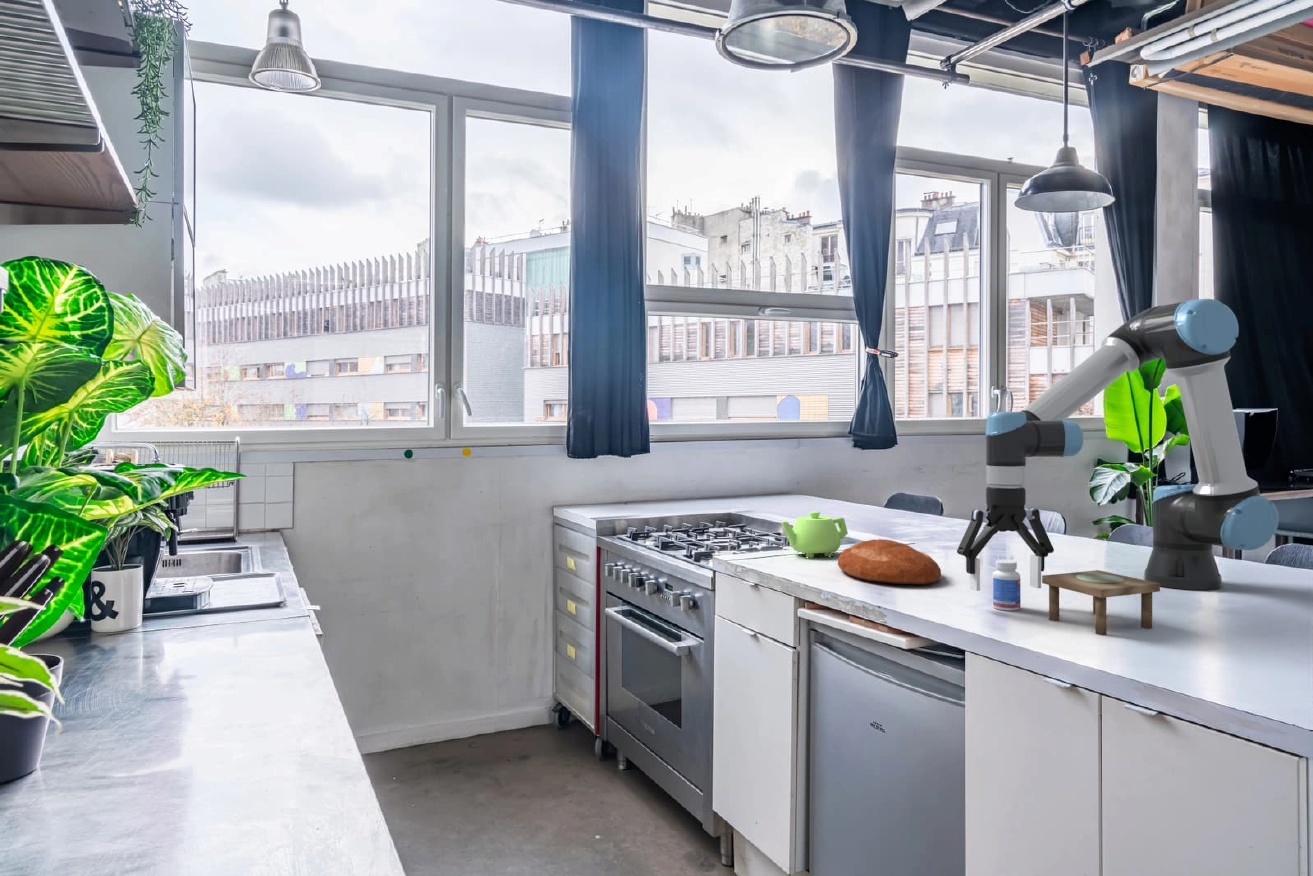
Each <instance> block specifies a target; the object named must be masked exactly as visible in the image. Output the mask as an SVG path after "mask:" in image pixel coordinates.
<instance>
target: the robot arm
mask: <svg viewBox="0 0 1313 876" xmlns="http://www.w3.org/2000/svg"><path fill="white" fill-rule="evenodd" d="M1239 330H1240V329H1239V323H1238V319H1237V316H1236V314H1235V313H1234V312H1233V310H1232V309H1231V308H1230V307H1229V306H1228V305H1226V304H1224V303H1222V302H1221V301H1219V300H1217V299H1211V298H1198V299H1197V298H1194V299H1188V300H1185V301H1179V302H1175V303H1171V304H1165V305H1157V306H1153V307H1149V308H1148V309H1145V310H1143V311H1141V312H1139V313H1138V314H1136V315H1135V316H1133V317H1132V318H1130V319H1129V320H1127V321H1126V322H1124V323H1123V324H1122V325H1120V326H1119V327H1118V328H1117V329H1115V330H1114V331H1113V332H1111V333H1109V335H1108V336H1106V337H1105V338H1104V339H1103V340H1101V344H1100V345H1101V347H1100V348H1099V349H1097V350H1096V351H1095V352H1094V353H1092V354H1091V355H1090V356H1089V357H1087V358H1086V359H1085V360H1083V361H1082V362H1081V363H1079V365H1077V366H1076V367H1075V368H1074V369H1072V370H1071V371H1070V372H1069V373H1067V374H1066V375H1065V376H1064V377H1062V378H1061V379H1059V381H1057V382H1056V383H1055V384H1053V385H1052V386H1051V387H1049V389H1047V390H1046V391H1045V392H1043V393H1042V394H1041V395H1040V396H1038V397H1037V398H1036V399H1035V400H1033V401H1032V402H1031V403H1029V404H1028V405H1027V406H1026V407H1025V408H1024V409H1022V410H1021V411H992V412H990V413H989V414H988V415H987V419H986V429H985V436H986V437H985V438H986V442H985V444H986V447H985V449H986V469H985V470H986V471H985V472H986V473H985V475H986V477H985V478H986V482H985V483H986V484H987V485H989V486H987V487H986V488H985V493H986V494H985V503H986V510H985V511H984V510H980V509H979V510H978V509H972V511H971V517H970V521H969V524H968V526H967V528H966V529H965V530H966V531H965V532H964V535H963V536H962V538H961V541H960V543H959V545H958V547H957V549H956V553H957V554H958V555H960V556H963V557H965V560H966V561H965V570H966V573H967V574H969V589H970V590H973V591H975V592H980V591H981V559H980V558H977V557H978V556H979V554H981V552H982V551H983V549H984V548H985V547H986V546H987V544H988V543H989V541H990V540H991V538H993V536H994V535H996V534H997V533H998V532H1001V533H1005V532H1008V531H1009V532H1016V533H1017V534H1018V535H1019V536H1020V538H1021V539H1022V540H1023V542H1025V544H1026V545H1027V546H1028V548H1029V549H1030V550H1031V551H1032V552H1033V554H1029V555H1030V557H1029V562H1030V563H1029V564H1030V565H1029V567H1030V568H1029V569H1030V570H1029V586H1030V587H1033V588H1036V589H1042V572H1045V558H1046V557H1048V556H1049V554H1052V553H1054V551H1055V548H1054V547H1053V544H1052V542H1051V540H1050V538H1049V536H1048V533H1047V532H1046V529H1045V527H1044V525H1043V523H1042V521H1041V515H1040V513H1041V512H1040V510H1039V509H1038V508H1032V507H1028V508H1027V509H1026V508H1025V505H1026V501H1027V498H1026V494H1027V493H1026V488H1025V487H1023V486H1025V485H1026V484H1027V481H1026V480H1027V477H1026V475H1027V474H1026V473H1027V470H1026V469H1027V468H1026V467H1027V462H1026V461H1027V458H1032V457H1033V458H1037V457H1038V458H1041V457H1042V458H1051V457H1052V458H1055V457H1058V458H1064V457H1073V456H1075V455H1078V454H1079V453H1080V451H1081V450H1082V448H1083V445H1084V432H1083V429H1082V428H1081V426H1080V425H1079V423H1077V422H1076V421H1074V420H1073V421H1072V420H1066V419H1069V417H1071V416H1073V414H1075V413H1076V412H1077V411H1078V410H1080V409H1081V408H1083V406H1086V405H1085V404H1087V403H1089V402H1090V401H1091V400H1092V399H1093V398H1095V397H1096V396H1098V394H1100V393H1101V392H1102V391H1104V390H1105V389H1106V388H1107V387H1109V386H1110V385H1111V384H1113V382H1115V381H1116V380H1118V379H1119V378H1120V377H1122V375H1124V374H1125V373H1126V372H1127V373H1132V372H1134V371H1137V370H1138V369H1139V368H1140V367H1141V366H1143V365H1145V364H1147V363H1149V362H1152V361H1155V360H1161V359H1163V360H1164V365H1165V369H1166V370H1167V371H1168V372H1170V373H1171V374H1173V375H1175V377H1176V381H1177V385H1178V390H1179V394H1180V399H1181V403H1182V408H1183V409H1182V410H1183V413H1184V417H1185V423H1186V425H1187V426H1186V427H1187V431H1188V436H1189V440H1190V444H1191V445H1190V446H1191V449H1192V453H1193V458H1194V463H1195V468H1196V472H1197V478H1198V483H1196V484H1194V483H1193V484H1192V483H1191V484H1175V485H1161V486H1158V487H1156V488H1155V489H1154V491H1153V495H1152V501H1151V505H1152V507H1151V509H1152V550H1151V554H1150V556H1149V559H1148V562H1147V565H1146V568H1145V569H1144V573H1143V574H1144V576H1143V577H1144V578H1143V580H1146V581H1151V582H1156V583H1160V587H1164V588H1169V589H1170V588H1171V589H1179V590H1180V589H1181V590H1199V591H1200V590H1201V591H1203V590H1205V591H1206V590H1207V591H1209V590H1217V589H1221V588H1222V587H1223V586H1222V583H1223V582H1222V579H1223V578H1222V575H1221V573H1220V571H1219V568H1218V564H1217V562H1216V561H1217V560H1216V559H1215V557H1214V554H1213V545H1214V546H1216V547H1217V546H1218V547H1223V548H1228V549H1229V550H1233V551H1234V550H1236V551H1237V550H1242V551H1254V550H1258V549H1261V548H1262V547H1263V546H1265V545H1266V544H1268V543H1269V542H1270V541H1271V540H1272V538H1273V535H1275V534H1276V532H1277V530H1278V528H1279V527H1278V526H1279V518H1280V517H1279V511H1278V508H1277V506H1276V505H1275V503H1274V502H1273V501H1270V499H1268V498H1266V497H1264V496H1263V495H1261V493H1260V489H1259V484H1258V481H1256V480H1254V479H1252V478H1251V477H1249V476H1248V474H1247V471H1246V470H1247V469H1246V466H1245V465H1246V464H1245V460H1244V456H1243V455H1244V454H1243V450H1242V447H1241V441H1240V437H1239V432H1238V427H1237V424H1236V419H1235V412H1234V409H1233V404H1232V399H1231V396H1230V395H1231V394H1230V391H1229V390H1230V389H1229V385H1228V381H1227V376H1226V372H1225V365H1226V364H1227V363H1228V362H1229V360H1230V359H1231V353H1230V349H1231V348H1233V346H1235V344H1236V342H1237V340H1236V339H1237V338H1238V337H1239V332H1240V331H1239ZM1025 519H1027V520H1028V522H1029V525H1030V527H1031V529H1032V531H1033V533H1034V535H1033V534H1032V533H1031V532H1030V530H1029V527H1028V526H1027V525H1026V524H1025V523H1024V522H1023V521H1024V520H1025ZM986 520H987V522H986V523H985V525H984V526H983V529H982V530H981V528H982V525H983V522H984V521H986ZM980 530H981V532H980ZM979 532H980V533H979ZM978 533H979V534H978Z"/></svg>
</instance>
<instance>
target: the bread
mask: <svg viewBox="0 0 1313 876" xmlns="http://www.w3.org/2000/svg"><path fill="white" fill-rule="evenodd" d="M837 565H838V567H839V569H840V570H841V571H842V572H844V573H846V575H849V576H851V577H854V578H856V579H859V580H863V581H868V582H876V583H881V584H882V583H883V584H891V585H892V584H896V585H897V584H898V585H928V584H929V585H930V584H932V583H934V582H936V581H939V579H940V578H941V576H942V570H941V567H940V565H938V563H937V562H936V561H935V560H934V559H933V558H932V557H931V556H930V555H929V554H927V553H924V552H922V551H919V550H916V549H915V548H913V547H912V546H910V545H908V544H906V543H902V542H899V541H896V540H895V541H894V540H890V539H881V538H878V539H869V540H865V541H861V542H858V543H856V544H854V545H852V546H851V547H847V548H845V549H844V550H843V551H841V553H840V554H839V556H838V559H837Z"/></svg>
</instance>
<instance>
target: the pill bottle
mask: <svg viewBox="0 0 1313 876" xmlns="http://www.w3.org/2000/svg"><path fill="white" fill-rule="evenodd" d="M1017 566H1018V564H1017V561H1016V560H1009V559H998V560H995V569H996V570H995V571H993V572H992V576H991V578H992V579H991V581H992V582H991V583H992V584H991V585H992V587H991V588H992V595H991V596H992V597H991V599H992V608H993V609H996V610H999V611H1008V612H1009V611H1010V612H1014V611H1019V610H1020V609H1021V605H1022V604H1021V599H1022V598H1021V574H1020V573H1019V572H1018V571H1016V570H1017V568H1018V567H1017Z"/></svg>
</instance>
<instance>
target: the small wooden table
mask: <svg viewBox="0 0 1313 876" xmlns="http://www.w3.org/2000/svg"><path fill="white" fill-rule="evenodd" d="M1041 584H1044V585H1048V619H1049V620H1050V621H1053V622H1054V621H1055V622H1058V621H1060V589H1063V590H1067V591H1072V592H1075V593H1079V594H1084V595H1087V596H1090V597H1091V596H1092V615H1094V620H1095V621H1094V622H1095V623H1094V626H1095V627H1094V629H1095V630H1094V631H1095V634H1096V635H1100V636H1106V635H1107V627H1108V626H1107V598H1112V597H1113V598H1114V597H1120V596H1121V597H1122V596H1131V595H1139V594H1140V622H1141V623H1140V627H1141V628H1142V629H1146V630H1151V629H1152V630H1153V593H1157V592H1159V593H1160V592H1161V586H1160V583H1156V582H1151V581H1146V580H1144V579H1141V578H1137V577H1133V576H1132V577H1131V576H1128V575H1127V576H1126V575H1122V574H1118V573H1113V572H1107V571H1103V570H1099V569H1095V570H1086V571H1085V570H1084V571H1077V572H1076V571H1075V572H1065V573H1055V574H1054V573H1053V574H1045V575H1041Z"/></svg>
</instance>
